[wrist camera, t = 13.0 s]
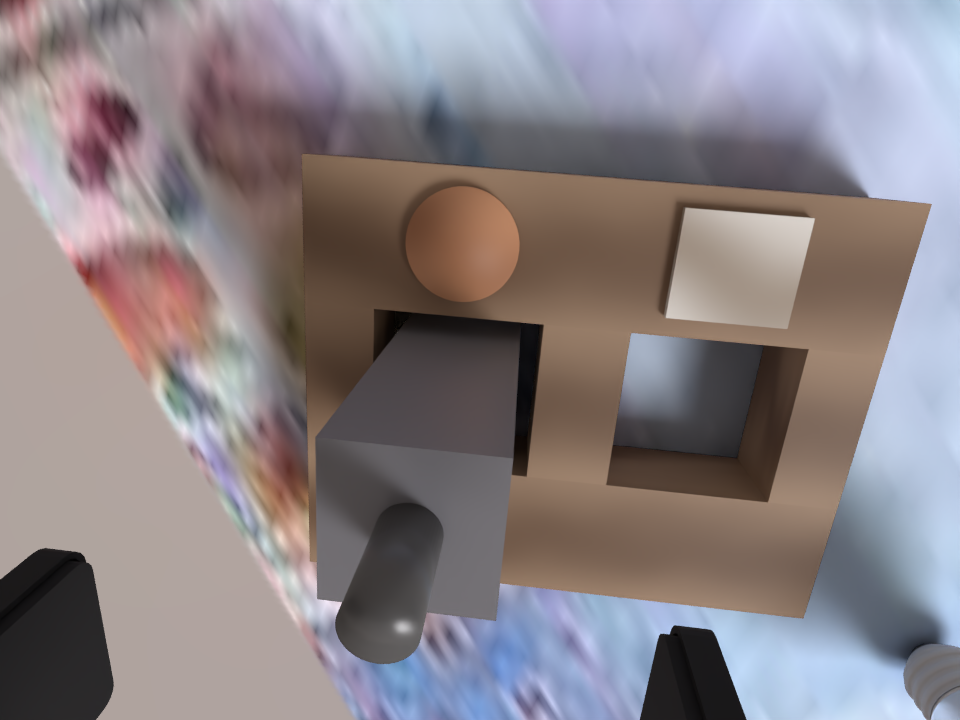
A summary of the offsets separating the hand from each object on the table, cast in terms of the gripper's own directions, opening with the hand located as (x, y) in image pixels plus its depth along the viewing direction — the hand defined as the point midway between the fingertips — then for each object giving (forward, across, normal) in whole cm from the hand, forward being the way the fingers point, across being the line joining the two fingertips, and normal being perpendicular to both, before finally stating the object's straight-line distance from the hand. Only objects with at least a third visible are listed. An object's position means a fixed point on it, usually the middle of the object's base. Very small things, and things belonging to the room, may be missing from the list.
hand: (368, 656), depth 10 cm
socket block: (+16, -4, +1) cm, 17 cm away
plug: (+16, 0, +1) cm, 16 cm away
